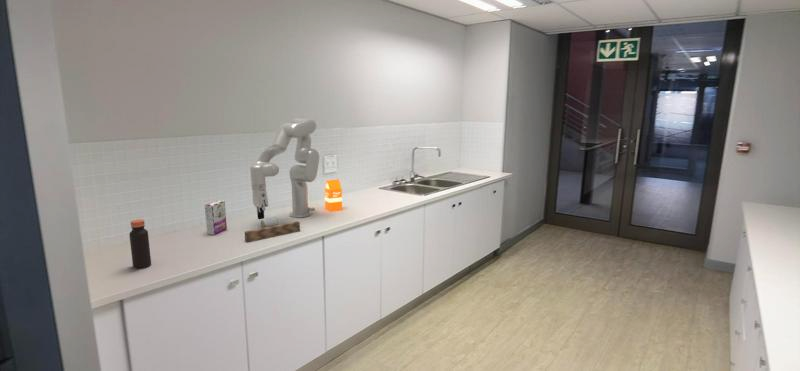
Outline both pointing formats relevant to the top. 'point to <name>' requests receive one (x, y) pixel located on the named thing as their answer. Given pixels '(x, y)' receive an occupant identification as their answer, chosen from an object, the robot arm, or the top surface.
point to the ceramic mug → (269, 222)
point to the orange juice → (333, 195)
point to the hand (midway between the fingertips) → (261, 218)
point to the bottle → (139, 245)
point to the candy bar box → (215, 217)
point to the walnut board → (271, 231)
